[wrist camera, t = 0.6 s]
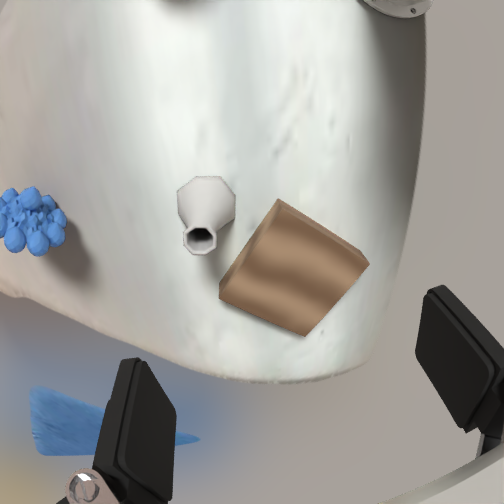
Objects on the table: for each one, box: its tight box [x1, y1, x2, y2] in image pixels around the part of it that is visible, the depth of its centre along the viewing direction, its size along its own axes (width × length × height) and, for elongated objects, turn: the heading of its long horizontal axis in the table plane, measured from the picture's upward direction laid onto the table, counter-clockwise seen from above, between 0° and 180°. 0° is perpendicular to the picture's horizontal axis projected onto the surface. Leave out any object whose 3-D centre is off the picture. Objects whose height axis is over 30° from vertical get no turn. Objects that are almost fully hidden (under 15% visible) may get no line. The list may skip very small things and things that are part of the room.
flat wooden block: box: [219, 199, 370, 337], centre depth 42 cm, size 14×14×4 cm
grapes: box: [0, 187, 67, 257], centre depth 30 cm, size 12×7×12 cm, turn 60°
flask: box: [177, 176, 235, 255], centre depth 34 cm, size 7×7×10 cm
